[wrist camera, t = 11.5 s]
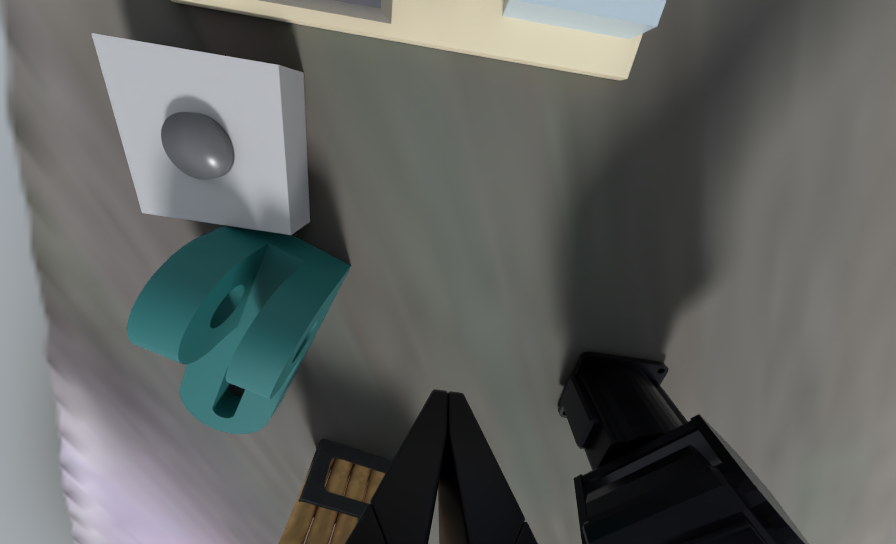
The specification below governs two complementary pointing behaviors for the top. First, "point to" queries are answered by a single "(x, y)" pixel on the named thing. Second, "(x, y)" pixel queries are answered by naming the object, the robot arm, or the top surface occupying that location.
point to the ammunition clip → (334, 494)
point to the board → (464, 33)
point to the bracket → (236, 319)
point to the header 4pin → (346, 7)
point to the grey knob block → (210, 134)
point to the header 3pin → (591, 14)
